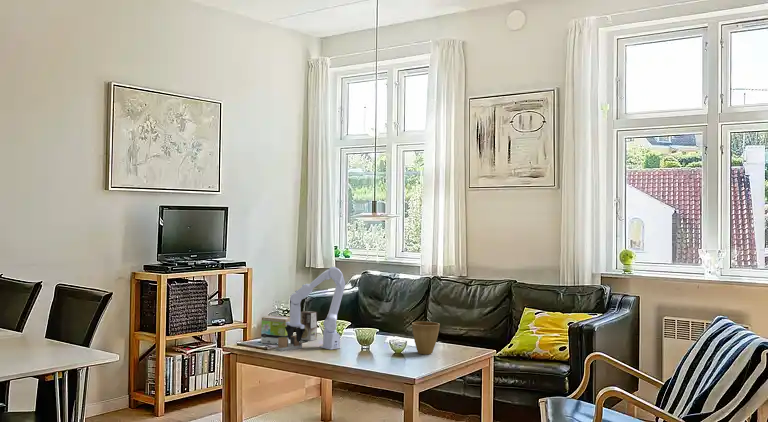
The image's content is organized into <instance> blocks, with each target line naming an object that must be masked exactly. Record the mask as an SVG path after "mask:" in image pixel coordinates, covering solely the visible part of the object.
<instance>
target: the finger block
mask: <svg viewBox="0 0 768 422" xmlns="http://www.w3.org/2000/svg"><path fill="white" fill-rule="evenodd" d="M299 343H300V341H299V342H297V339H296V334H294V335H293V336H291V340H290V344H293V346H299Z"/></svg>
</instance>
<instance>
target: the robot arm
mask: <svg viewBox="0 0 768 422" xmlns="http://www.w3.org/2000/svg"><path fill="white" fill-rule="evenodd" d="M326 280H332V281H333V282H334V284H335V288H334V293H333V295H332V300H331V303H330V306H329V311H328V314H327V316H326V318H325V319H324V321H323V327H324V329H323V330H322V331H323V332H322V333H323V336H322V339H323V340H322V345H320V346H319V348H321V349H322V348H323V349H326V350H337V349H342V347H341V335H340V333H338V332H337V320H338V313H339V310H340V306H341V301H342V299H343V295H344V291H345V289H346V281H345V277H344V274H343V272H342V271H341V270H340V268H338V267H337V266H331V267H329V268H328V269H326V270H325V271H322V273H320V274H319V275H318V276H317V277H316V278H315V279H313V280H312V281H311V282H310V283H305V284H302V285H301V287H300V288H298V289H297V290H294V292H293V293H292V294H291V295H290V297H289V301H290V304H289V305H290V307H289V317H290V322H286V326H287V327H285V329H286V331H287V334H288V339H289V340H291V336H294V331H295V335H296V339H297V342H299V343H300V342H301V341H302V340H301V338H302V335H303V332H304V331H305V328H304V325H303V324H301V323H300V314H301V312H302V311H301V308H302V307H301V303H302V300H304V299H305V298H307V297H308V296H309V295H310V294H311V293H313V289H314V288H316V287H317V286H318V285H320V284H321V283H323V282H324V281H326Z"/></svg>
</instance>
